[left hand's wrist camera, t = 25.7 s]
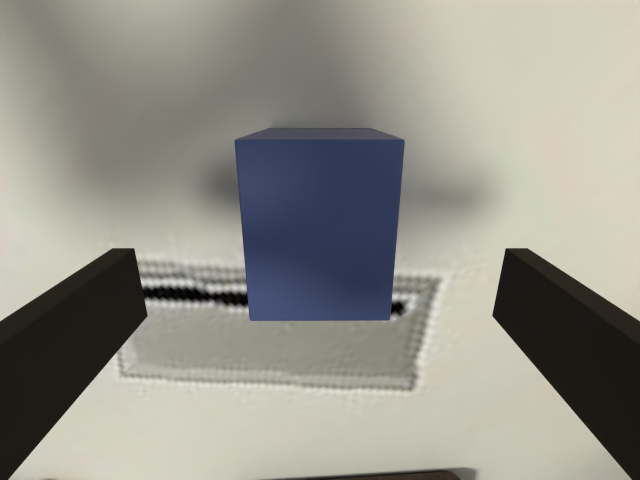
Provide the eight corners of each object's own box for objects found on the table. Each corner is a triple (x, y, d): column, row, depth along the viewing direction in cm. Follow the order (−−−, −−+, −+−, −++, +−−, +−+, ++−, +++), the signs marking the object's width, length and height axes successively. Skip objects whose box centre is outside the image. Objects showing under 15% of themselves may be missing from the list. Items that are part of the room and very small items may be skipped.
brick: (273, 248, 27) (249, 321, 18) (267, 128, 24) (234, 139, 15) (365, 248, 28) (390, 321, 18) (371, 128, 24) (405, 139, 15)
